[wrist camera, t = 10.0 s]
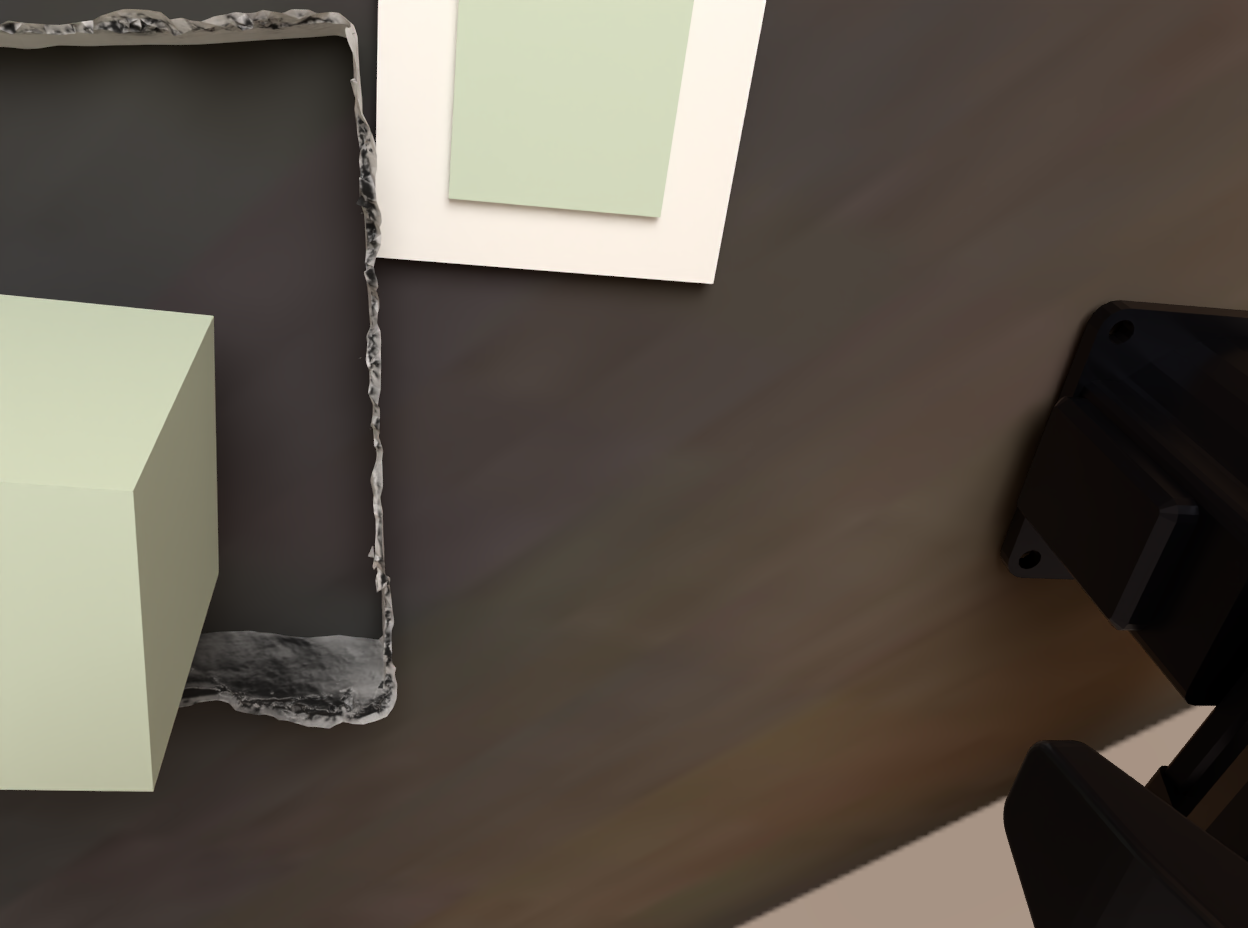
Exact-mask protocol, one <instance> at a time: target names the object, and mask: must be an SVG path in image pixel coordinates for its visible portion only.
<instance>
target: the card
mask: <svg viewBox="0 0 1248 928" xmlns="http://www.w3.org/2000/svg"><path fill="white" fill-rule="evenodd" d="M765 4H766V0H378V50H377V113H376V155H377V171H376V176H375V191H376V201H377V204H378V207H379V210H380V212H381V219H382V223H381V226H380V231H381V246H380V248H379V251H378V253H377V256H376V257H379V258H392V259H404V260H417V261H430V262H442V263H455V264H468V265H480V266H493V267H505V268H518V269H531V270H543V271H556V272H569V273H581V274H594V275H607V276H619V277H632V278H644V279H657V280H670V281H682V282H695V283H708V284H713V282H714V277H715V271H716V266H717V261H718V255H719V250H720V245H721V239H722V234H723V228H724V223H725V218H726V212H727V207H728V202H729V196H730V191H731V186H732V180H733V175H734V170H735V164H736V159H737V154H738V148H739V143H740V138H741V132H742V127H743V122H744V116H745V111H746V106H747V100H748V95H749V90H750V84H751V79H752V74H753V68H754V63H755V58H756V52H757V47H758V42H759V36H760V31H761V26H762V20H763V15H764V10H765Z"/></svg>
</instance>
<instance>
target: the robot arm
mask: <svg viewBox="0 0 1248 928" xmlns="http://www.w3.org/2000/svg"><path fill="white" fill-rule="evenodd" d="M1119 321H1123V325H1122V327H1121V328H1120V329H1119V331H1117V332H1116V333H1114V334H1113V335H1109V332H1110V330H1111V328H1112V327H1113V326H1114V325H1115V324H1116V323H1118V322H1119ZM1028 551H1031V552H1030V553H1029V554H1028V555H1027V556H1025V557H1024V558H1020V557H1021V556H1022V555H1023V554H1024V553H1026V552H1028ZM1000 556H1001V559H1002V562H1003V563H1004V564H1005V566H1006V567H1007V569H1008V570H1009V571H1010V572H1011V573H1012V574H1013V575H1014V576H1016V577H1021V578H1045V579H1075V580H1076V581H1077V583H1078V584H1079V585H1080V586H1081V588H1082V589H1083V590H1084V591H1085V593H1086V594H1087V595H1088V596H1089V598H1090V599H1091V600H1092V601H1093V603H1094V604H1095V605H1096V606H1097V608H1098V609H1099V610H1100V611H1101V612H1102V614H1103V615H1104V616H1105V617H1106V619H1107V620H1108V621H1109V622H1110V624H1111V625H1112V626H1113V627H1114V628H1116V629H1117V630H1128V631H1129V632H1130V633H1131V634H1132V636H1133V637H1134V638H1135V639H1136V641H1137V642H1138V643H1139V644H1140V645H1141V647H1142V648H1143V649H1144V650H1145V652H1146V653H1147V654H1148V655H1149V656H1150V658H1151V659H1152V660H1153V661H1154V663H1155V664H1156V665H1157V666H1158V668H1159V669H1160V670H1161V671H1162V672H1163V674H1164V675H1165V676H1166V677H1167V679H1168V680H1169V681H1170V682H1171V683H1172V685H1173V686H1174V687H1175V688H1176V690H1177V691H1178V692H1179V693H1180V694H1181V696H1182V697H1183V698H1184V699H1185V701H1186V702H1187V703H1188V704H1191V705H1195V706H1216V707H1215V708H1214V710H1213V711H1212V712H1211V713H1210V715H1209V716H1208V717H1207V718H1206V720H1205V721H1204V722H1203V723H1202V724H1201V726H1200V727H1199V728H1198V729H1197V731H1196V732H1195V733H1194V734H1193V736H1192V737H1191V738H1190V740H1189V741H1188V742H1187V743H1186V745H1185V746H1184V747H1183V748H1182V750H1181V751H1180V752H1179V753H1178V755H1177V756H1176V757H1175V758H1174V760H1173V761H1172V762H1171V763H1170V765H1169V766H1161V767H1160V768H1159V769H1158V770H1157V772H1156V773H1155V774H1154V775H1153V777H1152V778H1151V779H1150V781H1149V782H1148V783H1147V784H1146V786H1145V787H1144V786H1143V785H1141V784H1140V783H1139V782H1137V781H1136V780H1135V779H1133V778H1132V777H1130V776H1129V775H1128V774H1126V773H1125V772H1124V771H1122V770H1121V769H1119V768H1118V767H1117V766H1115V765H1114V764H1113V763H1111V762H1110V761H1108V760H1107V759H1106V758H1104V757H1103V756H1102V755H1100V754H1099V753H1098V752H1096V751H1095V750H1093V749H1092V748H1091V747H1089V746H1088V745H1086V744H1084V743H1082V742H1079V741H1074V740H1043V741H1039V742H1036V743H1035V744H1034V745H1033V746H1032V747H1030V749H1029V751H1028V752H1027V754H1026V757H1025V759H1024V761H1023V763H1022V765H1021V768H1020V770H1019V772H1018V774H1017V776H1016V779H1015V781H1014V783H1013V785H1012V787H1011V790H1010V792H1009V794H1008V796H1007V799H1006V801H1005V806H1004V814H1003V815H1004V818H1003V819H1004V827H1005V832H1006V835H1007V839H1008V842H1009V845H1010V848H1011V852H1012V855H1013V858H1014V862H1015V865H1016V868H1017V871H1018V875H1019V878H1020V881H1021V884H1022V888H1023V891H1024V894H1025V898H1026V901H1027V904H1028V908H1029V911H1030V914H1031V918H1032V921H1033V924H1034V927H1035V928H1248V311H1244V310H1231V309H1219V308H1207V307H1195V306H1183V305H1171V304H1158V303H1146V302H1134V301H1122V300H1119V301H1111V302H1109V303H1106V304H1104V305H1102V306H1101V307H1100V308H1099V309H1097V310H1096V311H1095V312H1094V313H1093V315H1092V316H1091V318H1090V320H1089V322H1088V324H1087V326H1086V329H1085V332H1084V334H1083V337H1082V340H1081V342H1080V345H1079V347H1078V350H1077V353H1076V355H1075V358H1074V360H1073V363H1072V366H1071V368H1070V371H1069V373H1068V376H1067V379H1066V381H1065V384H1064V386H1063V389H1062V392H1061V394H1060V397H1059V399H1058V402H1057V404H1056V405H1055V406H1054V407H1053V409H1052V412H1051V415H1050V417H1049V420H1048V422H1047V425H1046V428H1045V430H1044V433H1043V435H1042V438H1041V441H1040V443H1039V446H1038V448H1037V451H1036V454H1035V456H1034V459H1033V462H1032V464H1031V467H1030V469H1029V472H1028V475H1027V477H1026V480H1025V482H1024V485H1023V488H1022V490H1021V493H1020V496H1019V498H1018V501H1017V509H1016V511H1015V514H1014V517H1013V519H1012V522H1011V524H1010V527H1009V530H1008V532H1007V535H1006V537H1005V540H1004V543H1003V545H1002V548H1001V553H1000Z"/></svg>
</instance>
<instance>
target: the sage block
mask: <svg viewBox="0 0 1248 928" xmlns="http://www.w3.org/2000/svg"><path fill="white" fill-rule="evenodd" d="M218 574H219V559H218V509H217V459H216V410H215V360H214V316H209V315H199V314H189V313H179V312H169V311H160V310H150V309H140V308H130V307H120V306H110V305H100V304H90V303H80V302H70V301H60V300H50V299H40V298H30V297H21V296H11V295H1V294H0V790H72V791H151V792H153V791H154V787H155V784H156V781H157V777H158V774H159V771H160V767H161V764H162V761H163V757H164V754H165V751H166V747H167V744H168V741H169V737H170V734H171V731H172V727H173V724H174V721H175V717H176V714H177V711H178V707H179V704H180V701H181V697H182V694H183V691H184V687H185V684H186V681H187V677H188V674H189V671H190V667H191V664H192V661H193V657H194V654H195V651H196V647H197V644H198V641H199V637H200V634H201V631H202V627H203V624H204V621H205V617H206V614H207V611H208V607H209V604H210V601H211V597H212V594H213V591H214V587H215V584H216V581H217V577H218Z"/></svg>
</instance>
